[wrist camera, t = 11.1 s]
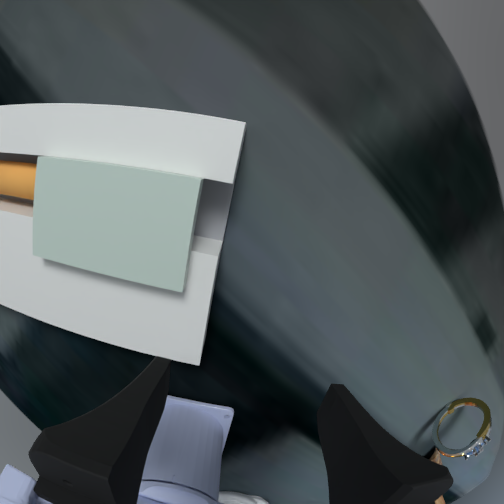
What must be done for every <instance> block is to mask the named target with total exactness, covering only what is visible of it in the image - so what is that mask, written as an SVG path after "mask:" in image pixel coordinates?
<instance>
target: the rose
mask: <svg viewBox="0 0 504 504" xmlns="http://www.w3.org/2000/svg"><path fill="white" fill-rule="evenodd" d="M218 502H220V503H224V504H269V503H268V502H267V501H266V500H264V499H263V498H261V497H259V496H252V495H246V494H243V493H238V492H231V491H219V498H218Z"/></svg>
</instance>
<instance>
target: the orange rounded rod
mask: <svg viewBox="0 0 504 504" xmlns="http://www.w3.org/2000/svg"><path fill="white" fill-rule="evenodd" d="M36 167H37V164H34V163H24V162H14V161H3V160H0V194H4V195H9V196H15V197H20V198H26V199H31V200H34V188H35V177H36Z"/></svg>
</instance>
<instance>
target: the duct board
mask: <svg viewBox="0 0 504 504" xmlns="http://www.w3.org/2000/svg"><path fill="white" fill-rule="evenodd" d="M245 132H246V122H241V121H235V120H230V119H224V118H219V117H213V116H206V115H200V114H193V113H186V112H179V111H171V110H162V109H153V108H143V107H132V106H119V105H102V104H69V103H49V104H18V105H3V106H0V160H3V161H14V162H24V163H34V164H37V159H38V157H40V156H51V157H61V158H70V159H79V160H87V161H95V162H103V163H111V164H118V165H125V166H132V167H139V168H145V169H152V170H158V171H164V172H170V173H176V174H182V175H188V176H193V177H199V178H204V180H203V186H202V191H201V196H200V202H199V207H198V213H197V218H196V224H195V230H194V236H193V242H192V248H191V254H190V261H189V267H188V274H187V280H186V286H185V288H184V290H183V292H178V291H173V290H168V289H164V288H159V287H155V286H151V285H146V284H142V283H138V282H133V281H129V280H125V279H121V278H117V277H113V276H109V275H105V274H101V273H97V272H93V271H89V270H85V269H81V268H78V267H74V266H70V265H66V264H63V263H59V262H55V261H52V260H48V259H45V258H41V257H38V256H34V255H33V203H34V200H31V199H26V198H20V197H15V196H9V195H4V194H0V304H1V305H4V306H6V307H8V308H11V309H13V310H15V311H18V312H20V313H23V314H25V315H28V316H30V317H33V318H35V319H38V320H41V321H43V322H46V323H49V324H51V325H54V326H57V327H60V328H63V329H66V330H68V331H71V332H74V333H77V334H80V335H84V336H87V337H90V338H93V339H96V340H99V341H103V342H106V343H109V344H113V345H116V346H120V347H123V348H127V349H131V350H134V351H138V352H142V353H146V354H150V355H154V356H159V357H164V358H168V359H171V360H175V361H180V362H184V363H189V364H194V365H200V360H201V356H202V351H203V347H204V342H205V338H206V332H207V326H208V320H209V314H210V309H211V303H212V298H213V292H214V286H215V281H216V276H217V270H218V265H219V259H220V254H221V249H222V244H223V239H224V233H225V228H226V223H227V218H228V213H229V208H230V203H231V198H232V193H233V189H234V184H235V179H236V174H237V169H238V165H239V160H240V155H241V151H242V146H243V141H244V137H245Z"/></svg>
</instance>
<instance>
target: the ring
mask: <svg viewBox="0 0 504 504" xmlns="http://www.w3.org/2000/svg"><path fill="white" fill-rule="evenodd" d="M466 405H471V406H475V407H477V408H479V409H480V410H481V411H482V412H483V413H484V421H483V424H482V427H481V429H480V430H479V432H478V434H477V435H476V436H477V438H475V439H474V440H473V441H472V442H471V443H470V444H469V445H468V446H466V447H464V448H462V449H458V450H453V449H448V448H446V447H445V446H443V445H442V443H441V442H440V440H439V437H438V430H439V426H440V424H441V422H442V420H443V419H444V417H445V416H446V415H447V414H451V413H453V412H454V409H456V408H458V407H461V406H466ZM490 432H491V415H490V409H489V407H488V406H487V405H486V403H484V402H483V401H481V400H479V399H476V398H463V399H459V400H457V401H454V402H453V403H451V402H450V403H448V404H447V405H446V406H445V408H444V409H443V410H442V411H441V412H440V413H439V415H438V416H437V418H436V420H435V422H434V425H433V429H432V437H433V442H434V444H435V447H436V448H437V450H438V451H439V452H440V453H441V454H443V455H445V456H447V457H461V456H465V460H468V456H472V455H474V454H475V457H476V456H478V454H479V453H480V452H482V451H483V448H482V447H483V446H484V445H486V444H487V443H486V441H488V442H490V440H491V439H490V438H489V435H490ZM484 434H485V435H484ZM483 435H484V436H483Z"/></svg>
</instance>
